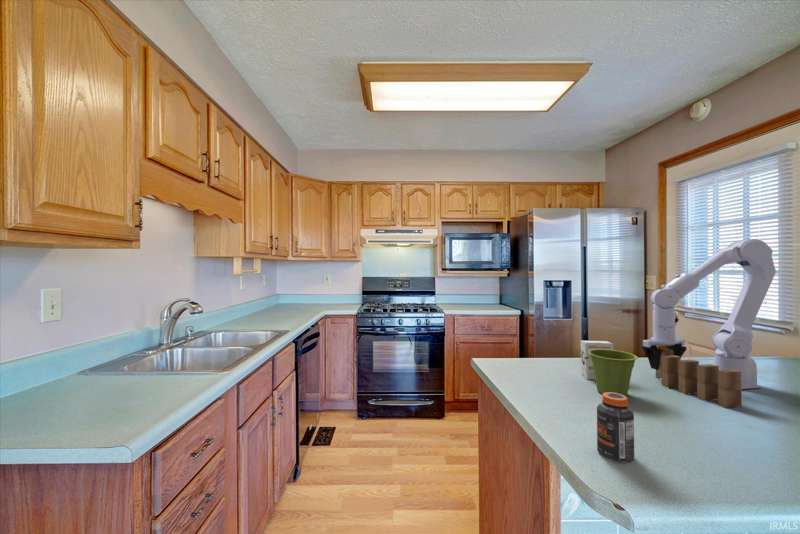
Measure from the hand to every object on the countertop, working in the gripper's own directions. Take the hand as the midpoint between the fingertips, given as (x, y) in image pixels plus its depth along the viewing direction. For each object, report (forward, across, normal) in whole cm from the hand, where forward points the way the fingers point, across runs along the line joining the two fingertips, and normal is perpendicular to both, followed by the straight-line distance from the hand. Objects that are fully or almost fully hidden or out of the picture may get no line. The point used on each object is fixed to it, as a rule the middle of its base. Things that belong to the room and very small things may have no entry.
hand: (664, 368), depth 109 cm
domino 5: (+3, +6, +22) cm, 23 cm away
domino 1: (+3, 0, 0) cm, 3 cm away
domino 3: (+3, +6, +12) cm, 14 cm away
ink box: (+3, +21, -5) cm, 22 cm away
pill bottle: (+3, +54, +35) cm, 64 cm away
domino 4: (+3, +6, +17) cm, 18 cm away
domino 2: (+3, +6, +7) cm, 10 cm away
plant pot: (+3, +28, +8) cm, 29 cm away
